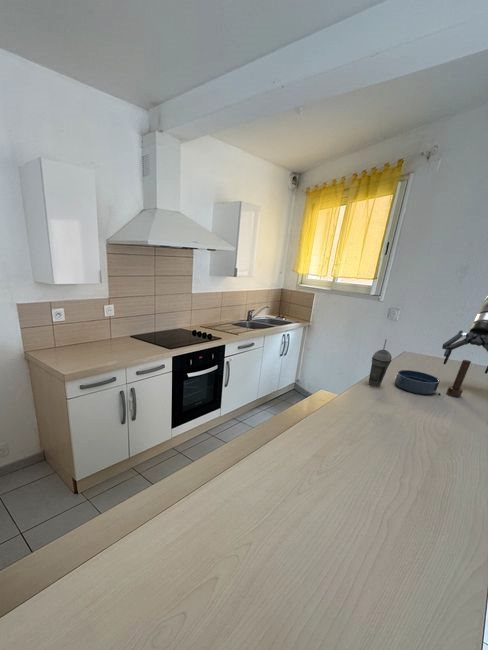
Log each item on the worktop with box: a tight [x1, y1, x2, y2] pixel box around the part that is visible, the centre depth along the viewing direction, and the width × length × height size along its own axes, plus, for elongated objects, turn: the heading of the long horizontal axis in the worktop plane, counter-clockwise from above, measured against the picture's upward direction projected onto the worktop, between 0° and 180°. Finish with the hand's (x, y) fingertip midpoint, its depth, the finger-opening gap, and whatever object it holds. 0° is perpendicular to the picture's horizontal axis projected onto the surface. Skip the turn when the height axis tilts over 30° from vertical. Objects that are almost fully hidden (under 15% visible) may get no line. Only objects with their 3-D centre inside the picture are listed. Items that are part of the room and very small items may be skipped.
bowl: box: [393, 369, 441, 395], centre depth 138 cm, size 15×15×6 cm
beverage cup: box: [368, 338, 392, 387], centre depth 137 cm, size 7×7×20 cm
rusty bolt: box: [445, 359, 472, 398], centre depth 131 cm, size 5×5×15 cm
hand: (464, 367), depth 132 cm, fingers open, 13 cm apart
